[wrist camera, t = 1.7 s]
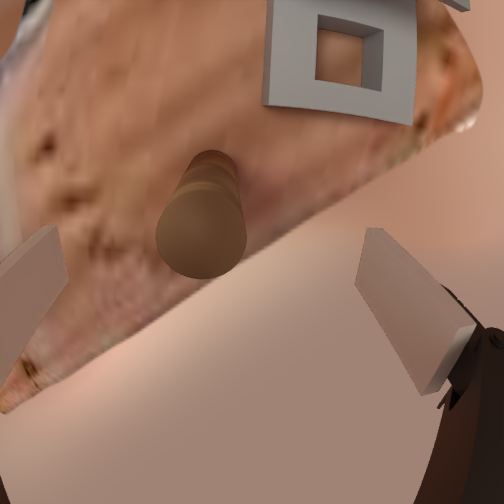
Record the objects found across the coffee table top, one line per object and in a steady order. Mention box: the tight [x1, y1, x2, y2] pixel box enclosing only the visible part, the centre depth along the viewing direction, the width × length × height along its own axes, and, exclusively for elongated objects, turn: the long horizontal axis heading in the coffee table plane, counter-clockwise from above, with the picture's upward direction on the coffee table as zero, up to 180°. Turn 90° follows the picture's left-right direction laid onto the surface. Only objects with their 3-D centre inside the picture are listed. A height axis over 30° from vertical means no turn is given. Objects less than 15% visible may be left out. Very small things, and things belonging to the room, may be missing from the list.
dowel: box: [156, 150, 247, 279], centre depth 20 cm, size 4×4×14 cm
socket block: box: [262, 0, 470, 126], centre depth 16 cm, size 12×16×11 cm
